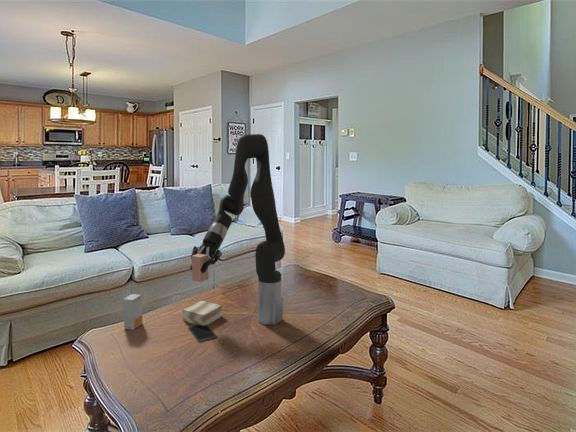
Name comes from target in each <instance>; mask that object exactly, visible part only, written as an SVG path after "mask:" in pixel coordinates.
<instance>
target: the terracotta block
mask: <svg viewBox="0 0 576 432" xmlns="http://www.w3.org/2000/svg"><path fill="white" fill-rule="evenodd" d="M206 256H207V255H206V254H196V255H193V256H192V259H191V265H192V270H191V272H192V273H191V274H192V275H191V277H192V281H194V282H195V281H196V282H200V283H203V282H204V281H207V280H209V278H210V276H209V275H210V274H209V267H208V268H207V270H206V271H205V272H204V273H202V272H201V271H200V269H201V267H202V266H203V264H204V262H205V259H206Z"/></svg>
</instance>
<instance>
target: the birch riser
mask: <svg viewBox="0 0 576 432" xmlns="http://www.w3.org/2000/svg"><path fill="white" fill-rule="evenodd" d="M222 308H223V307H222V305H220V304H217V303H213V302H209V301H205V300H199V301H197V302H195V303H194V304H193V303H192V304H191V305H189V306H187V307H185V308H183V309H182V321H183V322H186V323H191V324H194V325H203V326H205V325H208V326H209V325H210V324H212V322H215V321H216V320H218V319H221V317H222V316H223V315H222V314H223V312H222V311H223V309H222Z"/></svg>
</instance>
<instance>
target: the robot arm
mask: <svg viewBox="0 0 576 432" xmlns="http://www.w3.org/2000/svg"><path fill="white" fill-rule="evenodd" d="M269 150H270V149H269V144H268V140H267V138H266V137H265V135H263V134H259V133H257V134H256V133H254V134H253V133H251V134H250V133H248V134H247V133H246V134H243V135H241V136H240V137H239V138H238V140H237V144H236V149H235V157H234V165H233V170H232V171H233V173H232V176H231V180H230V183H229V185H228V190H227V194H224V195H223V196H222V197H221V198H220V202H219V207H218V212H217V213H216V217H215V219H214V220H213V222H212V224H211V225H210V226H209V228H208V230H207V232H206V233H205V236H204V237H203V239H202V243H201V244H200V246H193V249H192V252H191V255H190V256H191V257H190V259H191V260H192V256H193V255H196V254H206V255H207V256H206V259H205V262H204V264H203V266H202V267H201V269H200V271H201V272H202V273H204V272H205V271H206V270H207V268H208V269H209V267H210V266H211V265H215V264H216V262H218V260H219V259H220V258H221V256H222V255H223V253H222V251H221V250H220V248H221V246H222V244H223V242H224V240H225V238H226V236H227V233H228V231H229V229H230V227H231V225H232V222H233V218H232V217H231V216H230V215H229V214H231V215H232V216H239V215H241V214H242V212H243V210H244V208H245V207H244V206H245V198H244V197H245V192H246V190H247V187H248V183H249V177H248V173H247V171H246V163H247V161H248V159H255V161H256V174H255V177H254V179H253V182H252V185H251V188H250V200H251V205H252V211H254V214H255V215H256V217H257V218H258V220H259V222H260V223H261V225H262V227H263V229H264V234H265V240H264V241H261V242H259V243H258V244H257V245H256V248H255V251H254V252H255V257H254V258H255V272H256V275H257V292H258V293H257V321H258V322H259V323H260V324H261V325H269V326H270V325H271V326H276V325H278V324H279V323H280V322H282V321H283V320H282V319H283V318H284V298H283V297H282V273H281V271H279V270H277V269H276V263H277V262H279V261H281V260H283V259H284V257H285V255H286V248H285V247H286V246H285V243H284V238H283V235H282V232H281V227H280V222H279V218H278V213H277V207H276V199H275V191H274V188H273V182H272V175H271V168H270V167H271V166H270V151H269ZM228 213H229V214H228ZM190 270H191V271H192V264H191V265H190ZM281 320H282V321H281Z"/></svg>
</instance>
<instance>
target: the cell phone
mask: <svg viewBox="0 0 576 432" xmlns="http://www.w3.org/2000/svg"><path fill="white" fill-rule="evenodd" d="M187 329H188V331H189V332H190V333H191V334H192V337H194V338H195V340H196V341H197V342H198V343H203V342H208V341H211V340H215V339H218V335H217V334H216V333H215V332H214V331H213V330H212V328H211V327H210V326H209V324H208V325H205V326H203V325H197V324H194V325H192V326H188V327H187Z"/></svg>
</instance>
